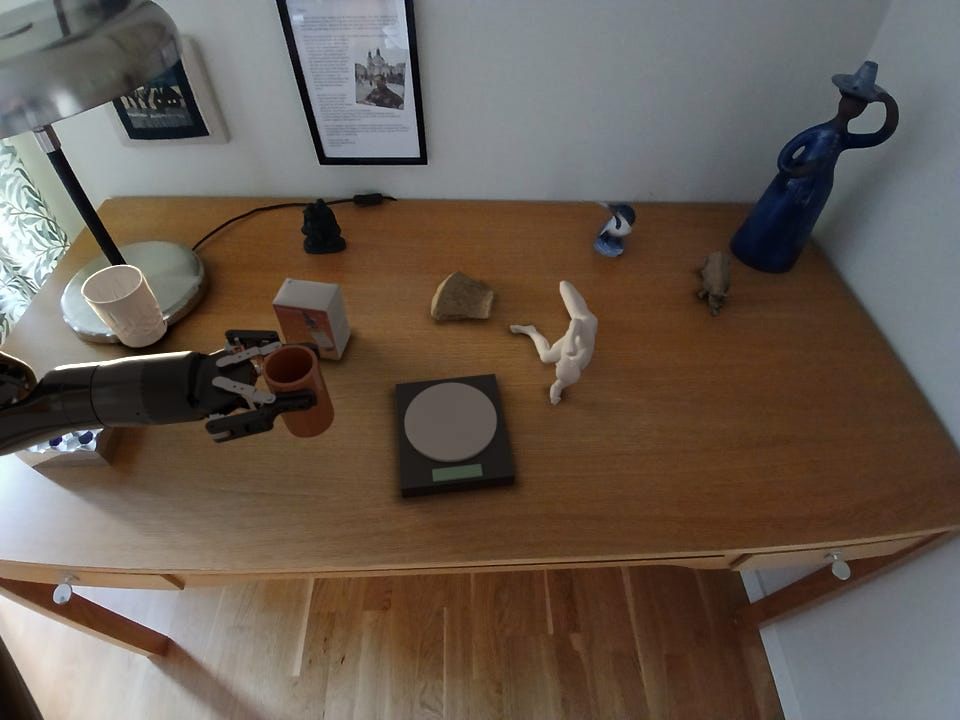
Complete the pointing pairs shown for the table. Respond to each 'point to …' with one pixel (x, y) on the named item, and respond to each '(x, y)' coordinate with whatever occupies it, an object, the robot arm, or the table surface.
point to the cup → (299, 388)
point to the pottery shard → (462, 299)
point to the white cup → (126, 305)
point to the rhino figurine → (716, 280)
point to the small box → (313, 316)
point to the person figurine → (567, 341)
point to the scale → (452, 436)
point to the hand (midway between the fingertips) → (317, 373)
